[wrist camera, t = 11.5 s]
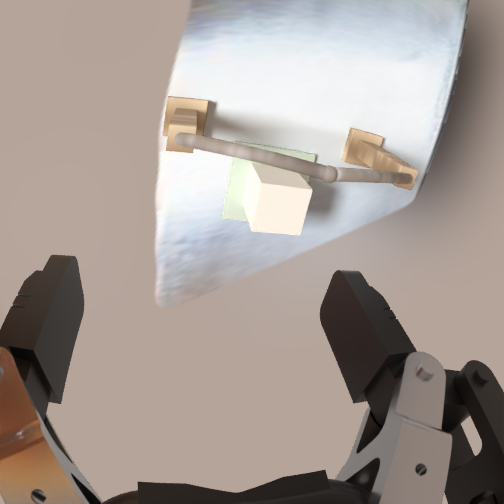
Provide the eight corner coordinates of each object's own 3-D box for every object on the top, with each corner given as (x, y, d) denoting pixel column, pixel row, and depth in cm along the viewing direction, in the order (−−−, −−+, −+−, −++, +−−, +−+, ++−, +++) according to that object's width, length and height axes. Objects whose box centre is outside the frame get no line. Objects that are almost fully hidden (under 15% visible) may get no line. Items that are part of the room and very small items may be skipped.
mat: (235, 141, 33) (235, 142, 32) (314, 154, 35) (315, 155, 34) (221, 216, 37) (222, 218, 37) (295, 223, 40) (296, 225, 39)
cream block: (251, 162, 34) (261, 183, 29) (295, 169, 35) (312, 189, 30) (243, 204, 36) (251, 231, 32) (285, 209, 38) (299, 235, 33)
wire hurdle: (168, 96, 29) (148, 121, 17) (378, 135, 35) (459, 183, 23) (163, 133, 31) (142, 184, 19) (369, 165, 37) (442, 224, 25)
